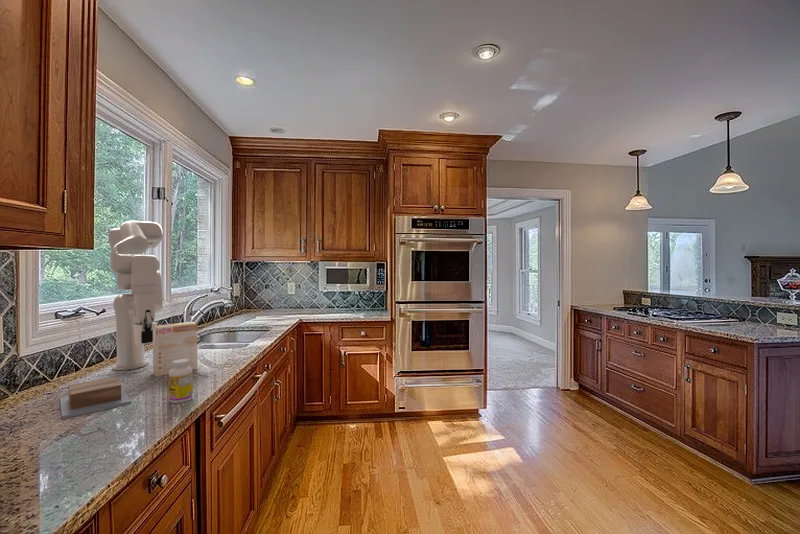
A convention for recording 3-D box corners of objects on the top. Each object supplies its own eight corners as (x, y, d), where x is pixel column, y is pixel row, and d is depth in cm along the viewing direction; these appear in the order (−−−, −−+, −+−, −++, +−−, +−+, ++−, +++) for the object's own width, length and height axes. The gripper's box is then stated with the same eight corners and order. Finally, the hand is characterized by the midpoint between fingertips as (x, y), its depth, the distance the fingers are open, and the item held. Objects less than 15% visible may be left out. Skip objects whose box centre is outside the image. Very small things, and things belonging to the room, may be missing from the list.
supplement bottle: (166, 400, 117) (165, 360, 117) (188, 394, 122) (188, 356, 121) (172, 405, 112) (171, 364, 112) (195, 399, 117) (195, 360, 117)
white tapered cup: (161, 341, 130) (161, 321, 130) (146, 345, 123) (146, 324, 123) (144, 340, 130) (143, 321, 130) (128, 345, 123) (127, 324, 123)
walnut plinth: (68, 399, 116) (68, 385, 116) (116, 390, 124) (115, 376, 124) (70, 410, 107) (70, 394, 107) (121, 399, 116) (121, 385, 116)
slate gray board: (60, 400, 117) (59, 397, 117) (121, 388, 128) (121, 386, 128) (61, 418, 103) (61, 416, 103) (131, 403, 114) (131, 401, 114)
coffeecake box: (193, 365, 156) (193, 321, 156) (198, 369, 151) (197, 323, 151) (152, 373, 146) (151, 325, 146) (155, 377, 141) (154, 327, 141)
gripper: (127, 289, 130) (127, 339, 130) (136, 291, 118) (137, 347, 118) (151, 288, 135) (152, 336, 135) (163, 290, 123) (163, 343, 123)
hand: (145, 340), depth 127 cm, fingers closed on white tapered cup, 5 cm apart
